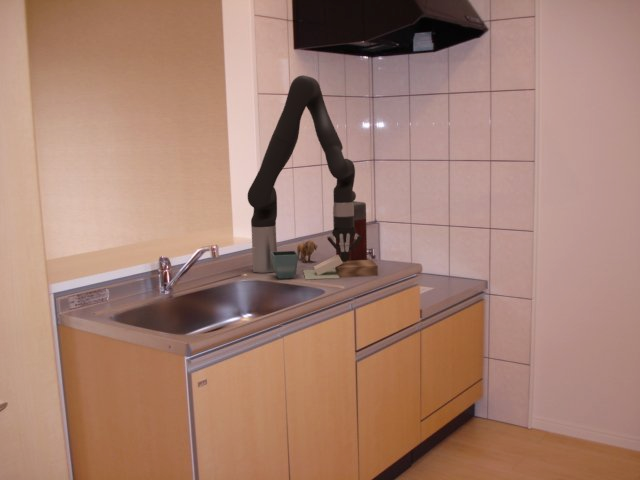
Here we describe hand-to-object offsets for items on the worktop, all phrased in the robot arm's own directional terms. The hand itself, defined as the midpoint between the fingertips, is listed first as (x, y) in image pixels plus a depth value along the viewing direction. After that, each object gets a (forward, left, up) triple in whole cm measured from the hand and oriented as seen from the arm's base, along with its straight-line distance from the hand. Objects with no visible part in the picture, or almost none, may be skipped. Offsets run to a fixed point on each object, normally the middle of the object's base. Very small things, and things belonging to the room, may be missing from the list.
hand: (344, 261), depth 263 cm
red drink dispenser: (+5, +26, -5) cm, 27 cm away
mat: (-9, 0, -4) cm, 10 cm away
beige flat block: (-6, 0, -2) cm, 6 cm away
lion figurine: (-12, +28, -5) cm, 31 cm away
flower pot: (-22, -2, -5) cm, 22 cm away
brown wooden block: (+4, 0, -4) cm, 6 cm away
